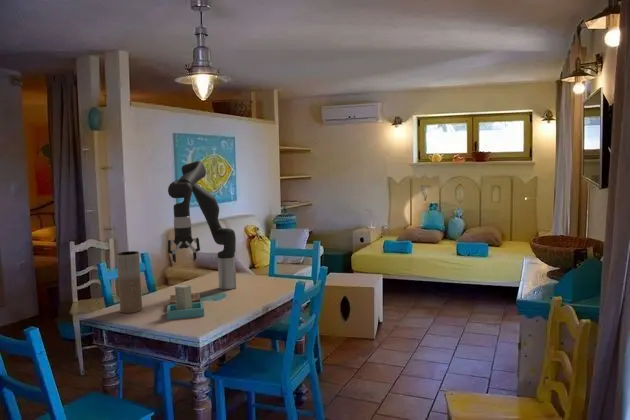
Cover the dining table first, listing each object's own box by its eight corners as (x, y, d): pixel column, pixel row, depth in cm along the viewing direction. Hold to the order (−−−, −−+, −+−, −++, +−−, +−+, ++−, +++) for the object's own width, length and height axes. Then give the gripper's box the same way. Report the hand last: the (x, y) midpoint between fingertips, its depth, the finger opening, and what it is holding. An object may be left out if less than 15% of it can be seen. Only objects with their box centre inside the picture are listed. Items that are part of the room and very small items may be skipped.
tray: (203, 309, 242) (202, 301, 242) (204, 316, 230) (203, 308, 230) (168, 312, 238) (167, 305, 237) (167, 319, 226) (167, 312, 226)
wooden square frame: (199, 300, 258) (199, 292, 258) (200, 307, 244) (200, 299, 244) (170, 303, 254) (170, 295, 254) (170, 310, 241) (169, 302, 241)
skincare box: (192, 311, 235) (191, 285, 234) (185, 313, 231) (184, 287, 230) (182, 309, 238) (181, 284, 237) (175, 312, 234) (174, 286, 233)
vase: (143, 307, 249) (140, 250, 246) (140, 312, 239) (136, 254, 237) (122, 308, 247) (119, 251, 245) (118, 314, 237) (114, 255, 235)
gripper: (198, 224, 238) (200, 258, 240) (166, 226, 235) (168, 261, 236) (198, 226, 231) (201, 261, 233) (166, 228, 227) (168, 264, 229)
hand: (184, 261), depth 234 cm, fingers open, 8 cm apart
